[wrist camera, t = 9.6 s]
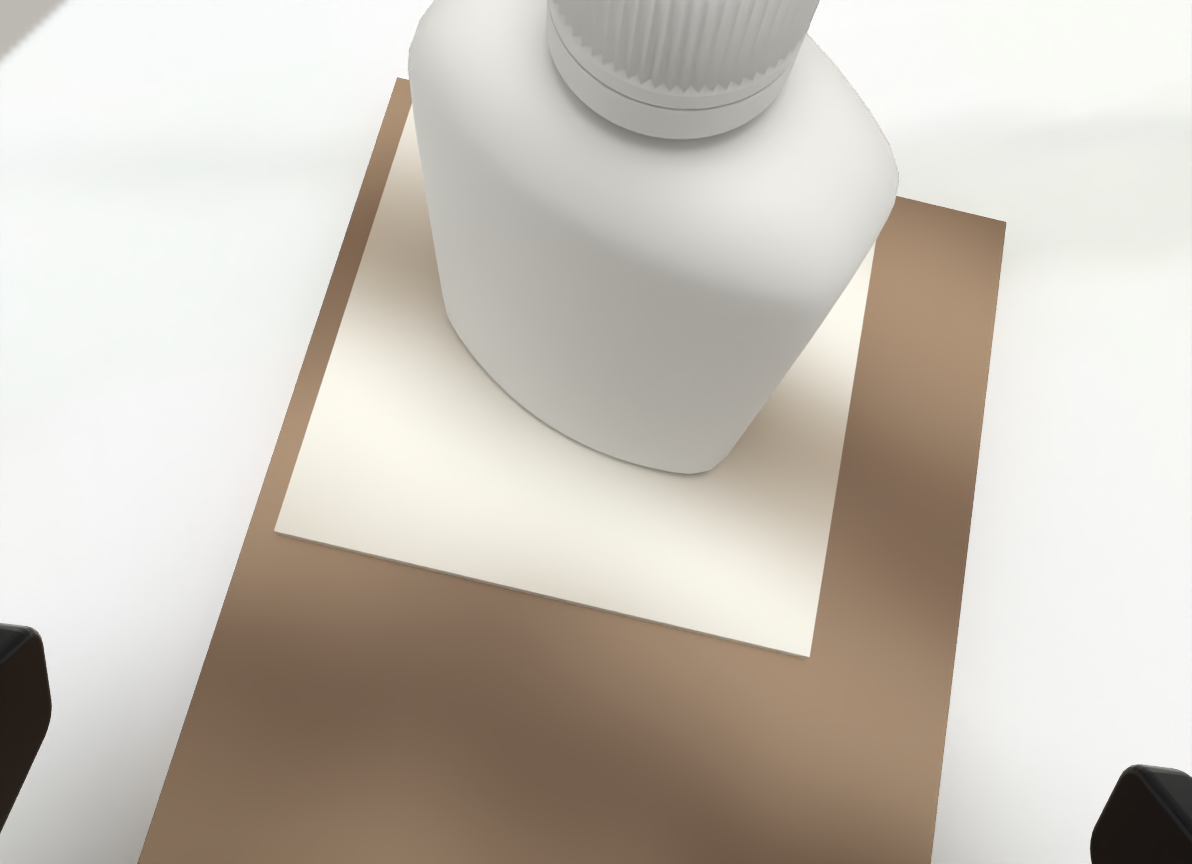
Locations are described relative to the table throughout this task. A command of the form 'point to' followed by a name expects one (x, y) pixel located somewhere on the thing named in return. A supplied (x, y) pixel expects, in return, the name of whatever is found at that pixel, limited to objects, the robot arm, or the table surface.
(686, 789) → the board
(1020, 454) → the table surface
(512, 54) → the eye dropper bottle
